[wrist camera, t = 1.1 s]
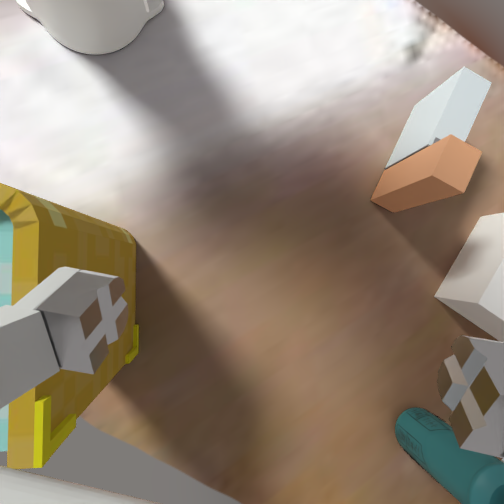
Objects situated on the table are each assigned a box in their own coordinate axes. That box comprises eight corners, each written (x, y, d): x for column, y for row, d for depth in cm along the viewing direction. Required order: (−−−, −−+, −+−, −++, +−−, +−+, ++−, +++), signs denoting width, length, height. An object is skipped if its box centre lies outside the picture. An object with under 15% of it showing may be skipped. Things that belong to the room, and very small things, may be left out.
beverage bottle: (381, 437, 48) (499, 561, 28) (397, 393, 48) (524, 485, 28) (420, 452, 48) (563, 584, 29) (436, 409, 49) (587, 509, 29)
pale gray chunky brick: (407, 181, 50) (456, 161, 39) (384, 169, 49) (428, 145, 39) (437, 118, 50) (492, 82, 40) (414, 105, 50) (464, 65, 40)
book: (138, 353, 44) (42, 467, 20) (85, 354, 44) (-84, 475, 19) (140, 227, 45) (48, 183, 20) (88, 226, 44) (-74, 180, 19)
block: (393, 212, 49) (463, 193, 35) (370, 200, 49) (432, 175, 35) (407, 183, 49) (482, 151, 36) (384, 170, 49) (451, 134, 35)
